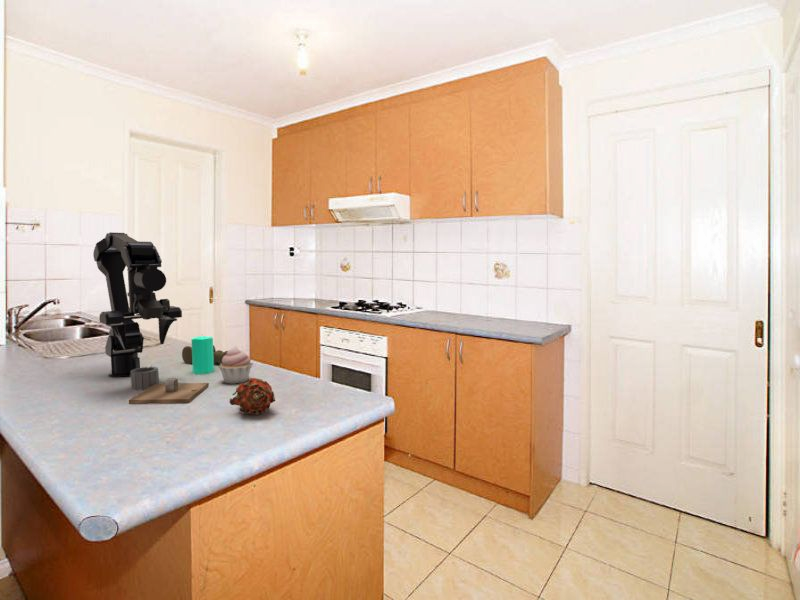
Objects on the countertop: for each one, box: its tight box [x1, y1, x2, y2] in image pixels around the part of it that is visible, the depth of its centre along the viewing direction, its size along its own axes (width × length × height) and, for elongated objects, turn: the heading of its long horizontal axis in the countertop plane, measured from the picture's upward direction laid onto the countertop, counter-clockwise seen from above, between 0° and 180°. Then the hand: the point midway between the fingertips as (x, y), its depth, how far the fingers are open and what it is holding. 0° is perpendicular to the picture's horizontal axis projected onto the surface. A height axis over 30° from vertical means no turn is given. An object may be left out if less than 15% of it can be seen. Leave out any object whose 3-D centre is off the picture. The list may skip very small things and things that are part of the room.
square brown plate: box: [128, 377, 210, 405], centre depth 118 cm, size 14×14×4 cm
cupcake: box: [218, 346, 254, 385], centre depth 130 cm, size 9×9×10 cm
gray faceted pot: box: [130, 364, 160, 390], centre depth 125 cm, size 6×7×5 cm
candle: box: [191, 335, 215, 375], centre depth 140 cm, size 6×6×12 cm
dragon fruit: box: [229, 377, 276, 416], centre depth 106 cm, size 8×8×12 cm
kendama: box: [181, 344, 229, 365], centre depth 153 cm, size 6×10×20 cm
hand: (144, 346), depth 124 cm, fingers open, 9 cm apart
